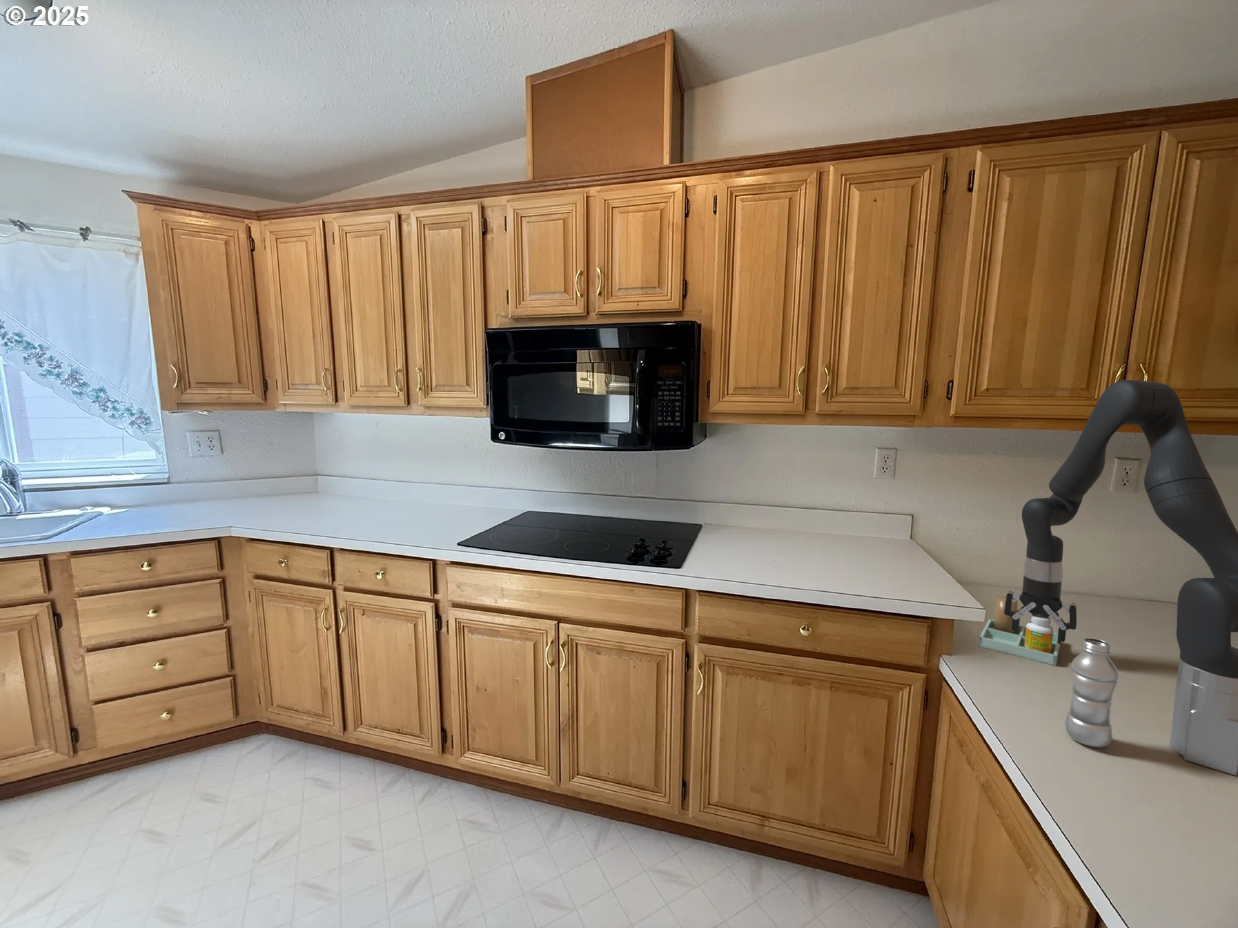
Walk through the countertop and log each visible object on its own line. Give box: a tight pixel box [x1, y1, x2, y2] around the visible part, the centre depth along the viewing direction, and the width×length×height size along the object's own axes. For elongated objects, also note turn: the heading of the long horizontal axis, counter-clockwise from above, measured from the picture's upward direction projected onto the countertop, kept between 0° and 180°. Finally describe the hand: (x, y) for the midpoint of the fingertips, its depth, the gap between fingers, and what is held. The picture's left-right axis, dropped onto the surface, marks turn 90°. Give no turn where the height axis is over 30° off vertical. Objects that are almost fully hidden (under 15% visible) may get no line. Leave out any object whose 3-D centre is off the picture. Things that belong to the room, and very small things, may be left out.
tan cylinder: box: [994, 595, 1019, 634], centre depth 143 cm, size 5×5×10 cm
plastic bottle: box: [1064, 637, 1120, 749], centre depth 98 cm, size 6×7×20 cm
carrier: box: [978, 618, 1061, 667], centre depth 139 cm, size 16×16×2 cm
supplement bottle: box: [1024, 613, 1054, 654], centre depth 133 cm, size 5×5×10 cm
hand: (1037, 637), depth 133 cm, fingers open, 8 cm apart
